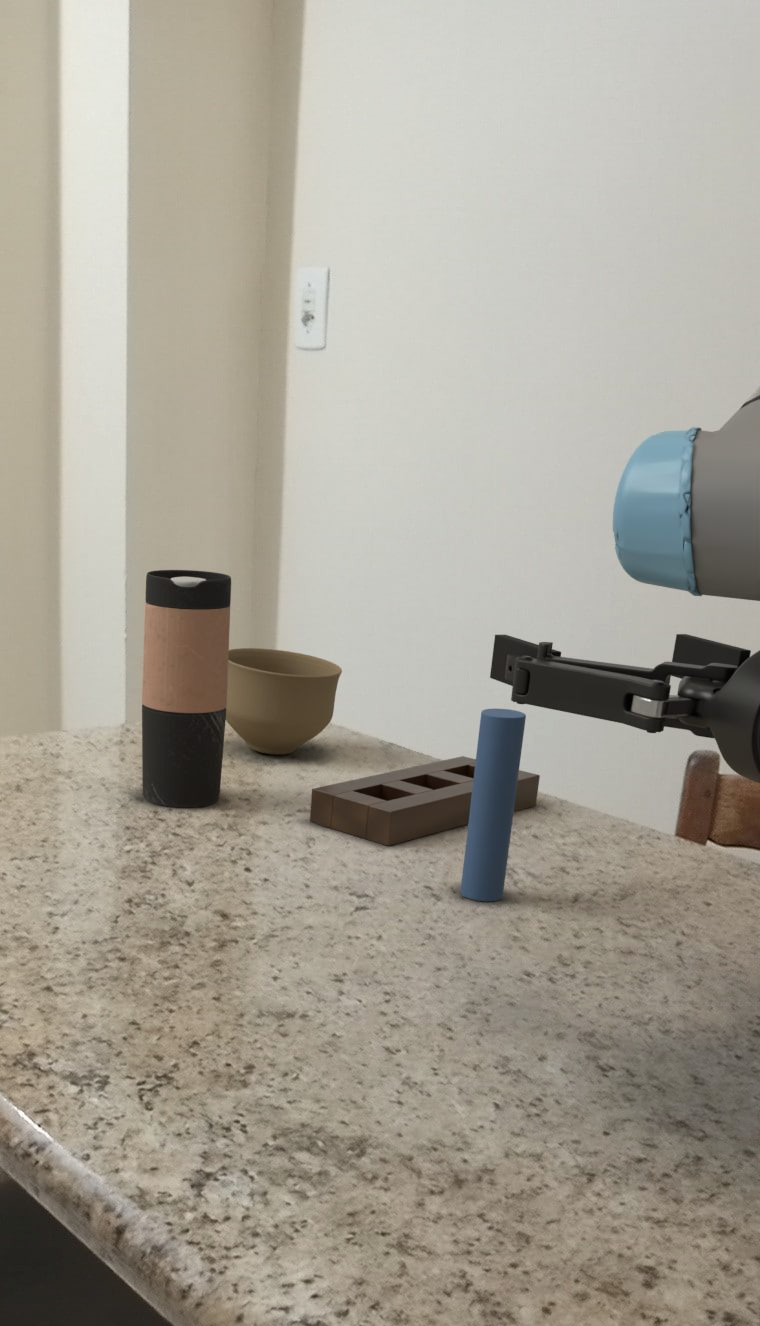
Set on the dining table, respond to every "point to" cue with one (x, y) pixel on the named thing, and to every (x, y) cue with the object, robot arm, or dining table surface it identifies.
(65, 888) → the dining table surface
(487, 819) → the peg
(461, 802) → the rack
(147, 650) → the travel mug
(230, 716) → the bowl
